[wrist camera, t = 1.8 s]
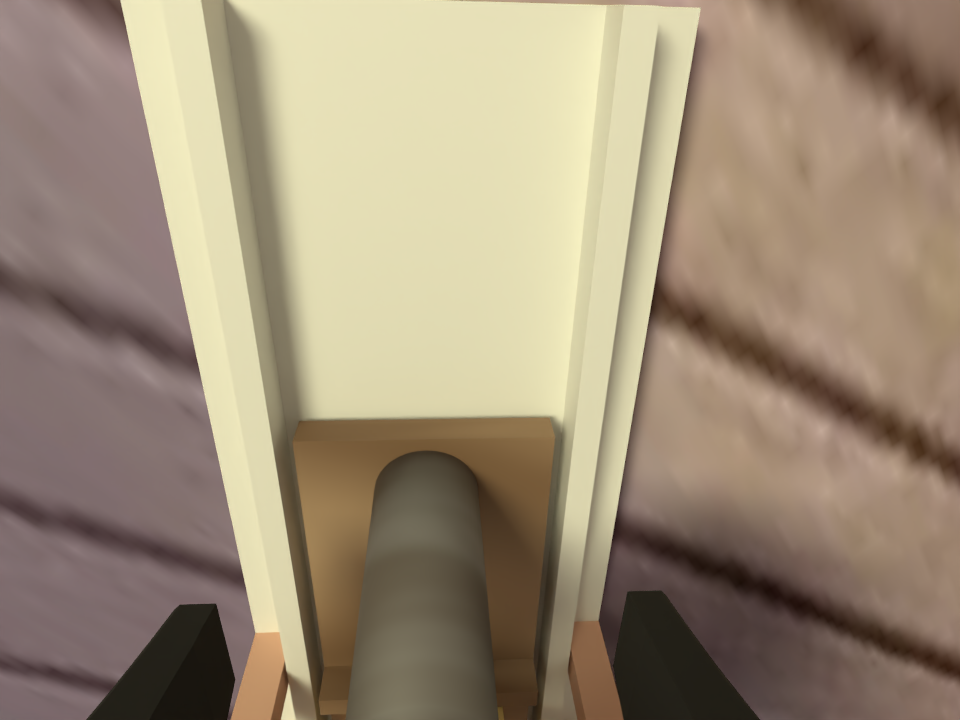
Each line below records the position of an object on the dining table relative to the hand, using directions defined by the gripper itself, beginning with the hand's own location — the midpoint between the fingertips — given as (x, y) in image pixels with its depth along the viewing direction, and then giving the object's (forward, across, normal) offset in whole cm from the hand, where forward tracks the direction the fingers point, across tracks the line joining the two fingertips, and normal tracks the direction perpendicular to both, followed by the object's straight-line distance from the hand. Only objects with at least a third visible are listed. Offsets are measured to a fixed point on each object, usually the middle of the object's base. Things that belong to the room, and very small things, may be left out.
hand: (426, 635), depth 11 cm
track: (+6, 0, +6) cm, 9 cm away
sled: (+5, 0, +7) cm, 8 cm away
